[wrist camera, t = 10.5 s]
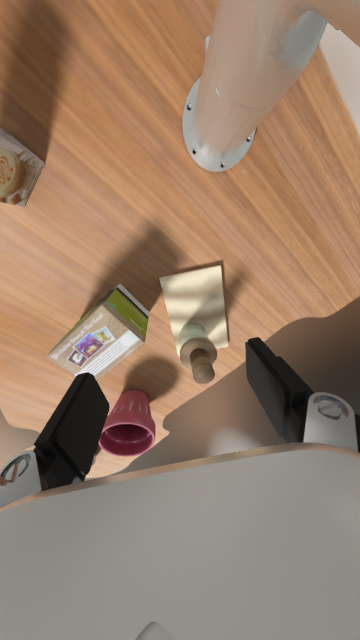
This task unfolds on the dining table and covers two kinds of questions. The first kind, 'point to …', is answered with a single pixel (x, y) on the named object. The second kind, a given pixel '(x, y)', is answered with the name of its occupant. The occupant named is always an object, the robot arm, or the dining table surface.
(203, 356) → the lid
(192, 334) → the jar
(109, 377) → the dining table surface
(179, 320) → the board
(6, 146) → the coffee box
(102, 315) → the tea box
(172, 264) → the dining table surface
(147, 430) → the plant pot
